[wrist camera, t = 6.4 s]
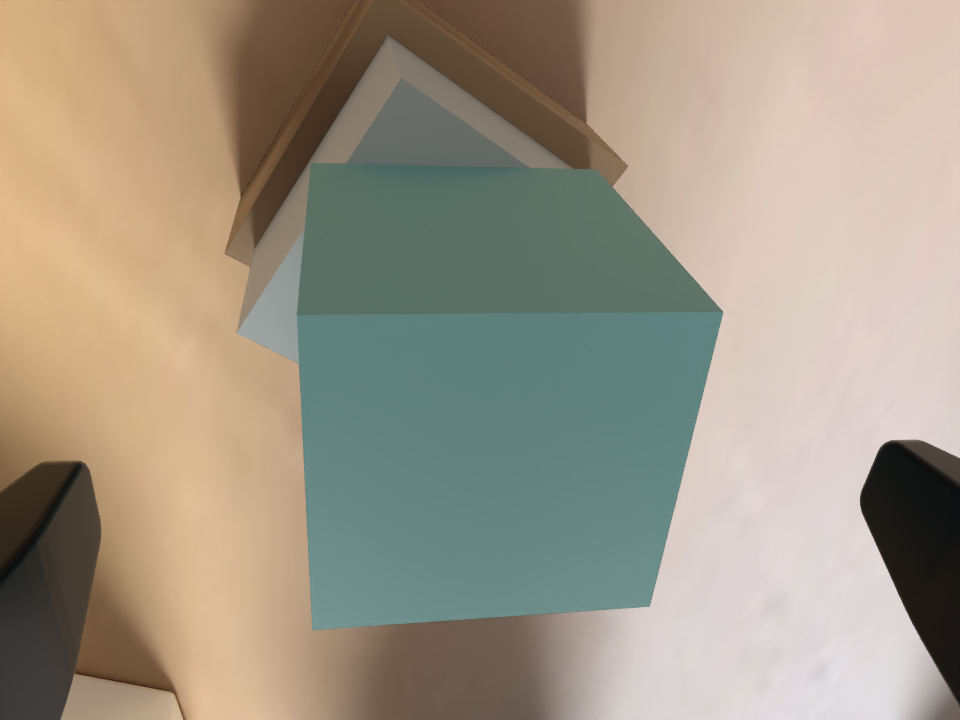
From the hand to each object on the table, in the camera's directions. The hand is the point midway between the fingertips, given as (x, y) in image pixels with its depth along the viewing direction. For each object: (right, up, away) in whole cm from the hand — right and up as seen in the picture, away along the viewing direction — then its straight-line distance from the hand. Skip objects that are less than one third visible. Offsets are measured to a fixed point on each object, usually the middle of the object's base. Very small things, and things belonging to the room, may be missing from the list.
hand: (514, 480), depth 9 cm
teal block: (-1, +2, +5) cm, 5 cm away
